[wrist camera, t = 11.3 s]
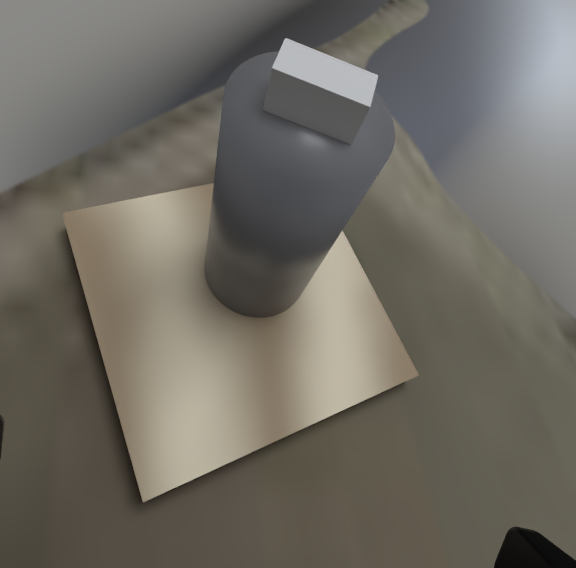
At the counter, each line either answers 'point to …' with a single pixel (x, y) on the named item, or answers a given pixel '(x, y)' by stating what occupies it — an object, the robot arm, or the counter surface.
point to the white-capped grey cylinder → (289, 172)
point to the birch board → (219, 340)
